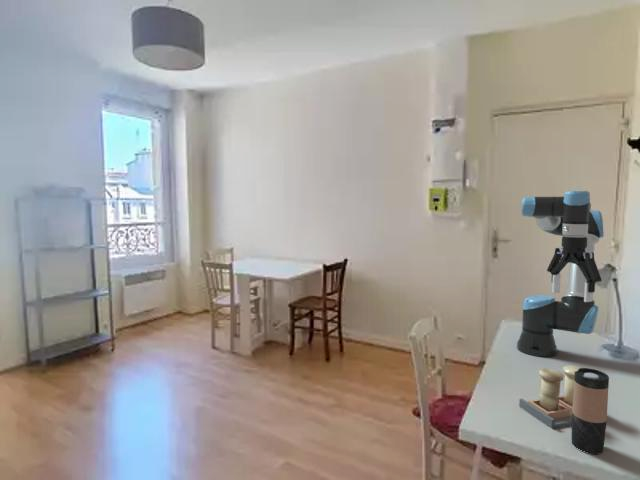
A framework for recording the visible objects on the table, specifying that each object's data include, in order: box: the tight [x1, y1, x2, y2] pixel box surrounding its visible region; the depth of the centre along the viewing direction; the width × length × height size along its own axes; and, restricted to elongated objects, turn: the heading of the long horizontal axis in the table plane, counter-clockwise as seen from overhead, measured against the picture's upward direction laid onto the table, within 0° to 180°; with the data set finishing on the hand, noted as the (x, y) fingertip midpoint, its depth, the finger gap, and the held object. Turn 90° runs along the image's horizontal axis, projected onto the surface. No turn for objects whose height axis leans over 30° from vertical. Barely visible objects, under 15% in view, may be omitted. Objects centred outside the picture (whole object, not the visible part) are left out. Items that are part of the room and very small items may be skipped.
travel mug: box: [571, 367, 610, 455], centre depth 110 cm, size 8×8×20 cm
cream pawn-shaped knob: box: [538, 368, 565, 412], centre depth 126 cm, size 6×6×12 cm
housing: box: [518, 365, 581, 429], centre depth 127 cm, size 13×19×13 cm
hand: (571, 296), depth 146 cm, fingers open, 13 cm apart
